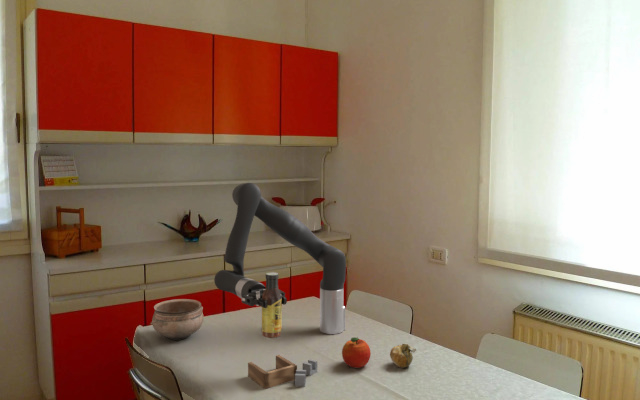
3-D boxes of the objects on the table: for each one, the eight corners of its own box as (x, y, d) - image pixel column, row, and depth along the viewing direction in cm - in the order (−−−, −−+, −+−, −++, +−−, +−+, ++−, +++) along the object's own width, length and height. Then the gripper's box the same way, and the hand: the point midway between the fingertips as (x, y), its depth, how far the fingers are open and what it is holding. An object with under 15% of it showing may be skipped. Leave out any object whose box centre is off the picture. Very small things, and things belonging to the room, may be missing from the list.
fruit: (374, 362, 181) (375, 333, 180) (364, 373, 172) (365, 342, 171) (348, 357, 185) (348, 329, 184) (337, 367, 176) (337, 338, 175)
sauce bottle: (278, 339, 166) (278, 277, 164) (258, 338, 168) (258, 275, 165) (284, 332, 173) (284, 272, 170) (265, 330, 174) (265, 270, 172)
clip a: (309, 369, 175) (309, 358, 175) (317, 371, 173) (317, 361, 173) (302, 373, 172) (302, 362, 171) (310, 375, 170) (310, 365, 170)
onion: (407, 360, 183) (408, 337, 182) (416, 369, 175) (417, 345, 175) (386, 362, 182) (386, 339, 181) (394, 371, 174) (395, 347, 173)
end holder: (278, 368, 176) (278, 354, 175) (297, 379, 167) (297, 365, 167) (248, 376, 169) (248, 362, 169) (265, 388, 161) (265, 374, 160)
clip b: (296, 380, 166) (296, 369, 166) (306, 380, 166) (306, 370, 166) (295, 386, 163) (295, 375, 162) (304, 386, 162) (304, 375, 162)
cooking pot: (170, 352, 189) (169, 318, 188) (135, 341, 199) (134, 309, 198) (219, 332, 210) (219, 301, 209) (185, 323, 220) (184, 294, 219)
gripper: (231, 282, 176) (255, 294, 162) (269, 277, 184) (295, 288, 171) (231, 305, 177) (255, 318, 163) (269, 298, 185) (295, 311, 171)
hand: (275, 303), depth 167 cm, fingers closed on sauce bottle, 6 cm apart
